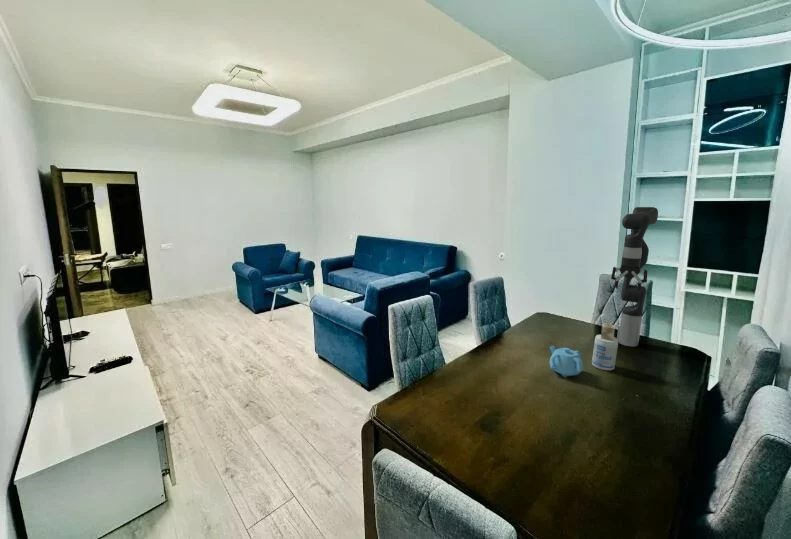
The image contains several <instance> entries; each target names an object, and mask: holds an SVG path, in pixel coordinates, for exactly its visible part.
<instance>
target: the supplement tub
mask: <svg viewBox="0 0 791 539" xmlns="http://www.w3.org/2000/svg"><path fill="white" fill-rule="evenodd" d="M593 343H594V344H593V352H592V359H591V364H592V366H593V367H595V368H596V369H599V370H602V371H612V370H615V366H616V359H617V353H618V348H619V342H618V339H617V337H615V336H614V339H613V341H611V340H606V339H601V334H596V336H595V338H594V342H593Z"/></svg>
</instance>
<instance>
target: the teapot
mask: <svg viewBox="0 0 791 539" xmlns="http://www.w3.org/2000/svg"><path fill="white" fill-rule="evenodd" d="M549 349H550V351H551V356H550V358H549V365H550V366H549V367H550V370H552V371H554V372H556V373H558V374H560V375H561V377H563V378H567V377H571V376H578V375H579V374H581V372H582V371H584V366H583V359H581V358H582V353H581V352H580V351H579V350H573V349H571V348H568V347H562V348H557V349H556V346H555V345H551V346H549Z"/></svg>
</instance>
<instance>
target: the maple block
mask: <svg viewBox="0 0 791 539" xmlns="http://www.w3.org/2000/svg"><path fill="white" fill-rule="evenodd" d="M615 329H616V326H615V324H609V323H602V325H601V334H600V335H601V339H606V340H611V341H613V339H614V337H615Z"/></svg>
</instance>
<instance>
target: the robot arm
mask: <svg viewBox="0 0 791 539" xmlns="http://www.w3.org/2000/svg"><path fill="white" fill-rule="evenodd" d="M658 217H659V209H658V208H656V207H655V206H635V207H634V209H633V210H632V213H627V214H626V215H625V216H624V217H623V218H622V221H621V224H622V227H623V228H624V229H626V230H630V234H626V235H625V236H624V245H623V250H622V254H621V263H620V267H616V266H613V267H612V271H611V276H610V278H611V280H612V281H613V280H614V288H615V289H619V288H618V287H619V283H620V282H619V281H620V280H621V279H622V278H623V277H624V278H623V282H622V286H621V292H620V298H621V300H622V302H629V303H636V304H633V305H627V306H624V307H623V308H622V311H621V319H620V324H618V327H617V336H616V338H617V339H618V344H621V345H623V346H627V347H638V345H639V340H640V335H641V328H642V320H643V319H642V318H643V314H644V305H645V301H646V295H647V289H646V287H645V286H644V285H643V284H644V283H647V282H648V269H643V267H644V266H645V265H646V264H647V262H648V259H649V252H650V250H649V246H648V245H647V243H646V241H645V239H644V236H645V234H646V232H647V229H648V227H649V226H650V225H654V224H656V222H657V221H658ZM617 272H620V273H619V275H618V276H615V275H616V273H617ZM640 273H641V274H642V275H643V279H641V278H640V276H639V274H640ZM633 278H634V279H635V280H636V281H637V284H636V285H635V284H631V281H632V279H633Z"/></svg>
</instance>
